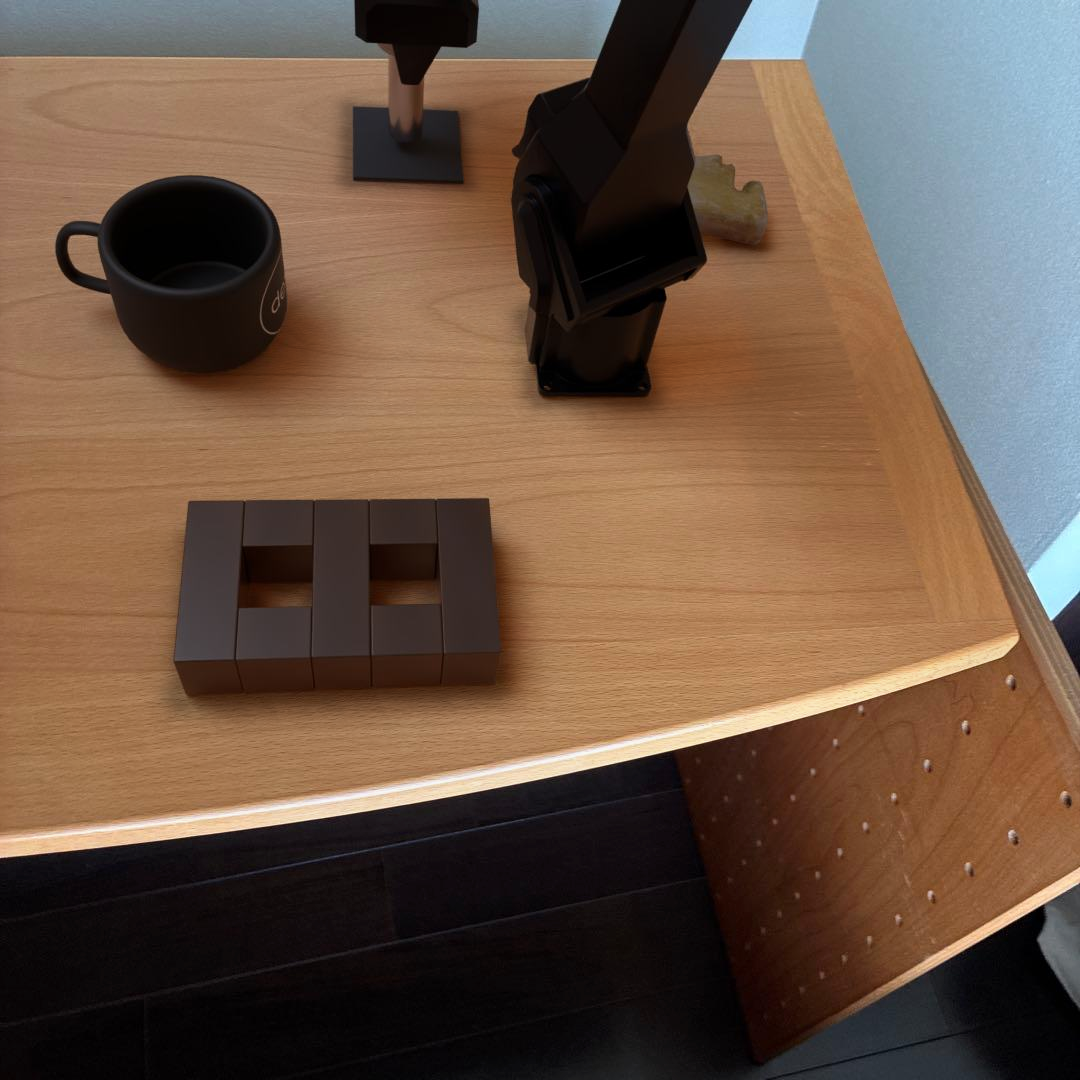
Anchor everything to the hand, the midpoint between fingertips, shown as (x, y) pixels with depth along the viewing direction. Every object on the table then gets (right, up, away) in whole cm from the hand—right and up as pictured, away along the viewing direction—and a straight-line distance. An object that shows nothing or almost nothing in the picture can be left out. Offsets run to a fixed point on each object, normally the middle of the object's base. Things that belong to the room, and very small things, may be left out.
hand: (409, 62), depth 67 cm
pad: (-1, -3, +5) cm, 6 cm away
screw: (-1, -3, +4) cm, 5 cm away
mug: (-12, -17, -5) cm, 22 cm away
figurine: (+15, -8, +5) cm, 17 cm away
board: (-2, -33, -13) cm, 35 cm away
